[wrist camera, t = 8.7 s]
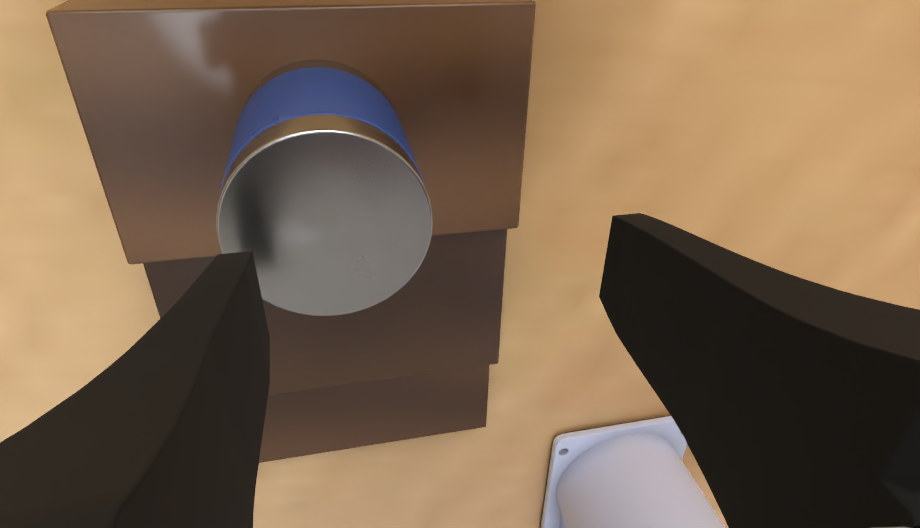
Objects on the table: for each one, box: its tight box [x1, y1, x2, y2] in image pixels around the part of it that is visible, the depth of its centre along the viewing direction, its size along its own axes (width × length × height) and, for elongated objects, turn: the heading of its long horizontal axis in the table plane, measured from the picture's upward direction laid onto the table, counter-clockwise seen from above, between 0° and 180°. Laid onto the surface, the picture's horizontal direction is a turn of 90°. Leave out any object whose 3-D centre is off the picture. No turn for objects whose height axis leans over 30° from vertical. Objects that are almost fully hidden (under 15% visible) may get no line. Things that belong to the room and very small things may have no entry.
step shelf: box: [46, 0, 536, 463], centre depth 22 cm, size 19×12×4 cm, turn 179°
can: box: [216, 59, 433, 316], centre depth 15 cm, size 4×4×5 cm
